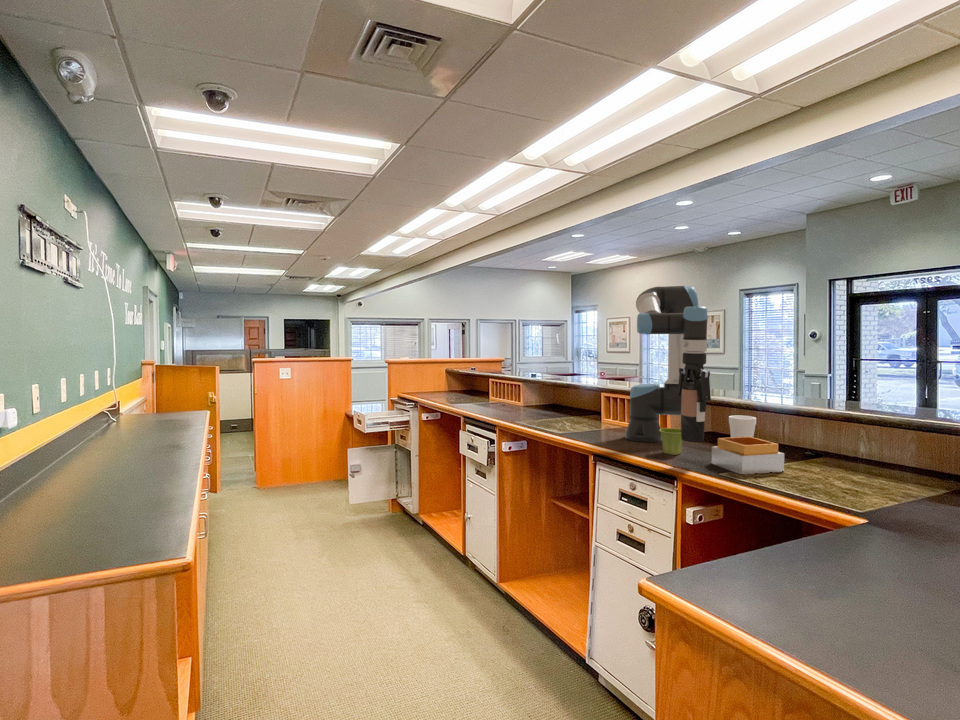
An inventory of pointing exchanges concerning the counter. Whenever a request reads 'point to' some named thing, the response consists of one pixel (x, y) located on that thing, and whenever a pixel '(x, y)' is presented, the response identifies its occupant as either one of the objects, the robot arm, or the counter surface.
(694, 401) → the travel mug
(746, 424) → the foam cup
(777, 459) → the grey and brown box
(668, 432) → the plant pot
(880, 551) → the counter surface
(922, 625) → the counter surface
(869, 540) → the counter surface
